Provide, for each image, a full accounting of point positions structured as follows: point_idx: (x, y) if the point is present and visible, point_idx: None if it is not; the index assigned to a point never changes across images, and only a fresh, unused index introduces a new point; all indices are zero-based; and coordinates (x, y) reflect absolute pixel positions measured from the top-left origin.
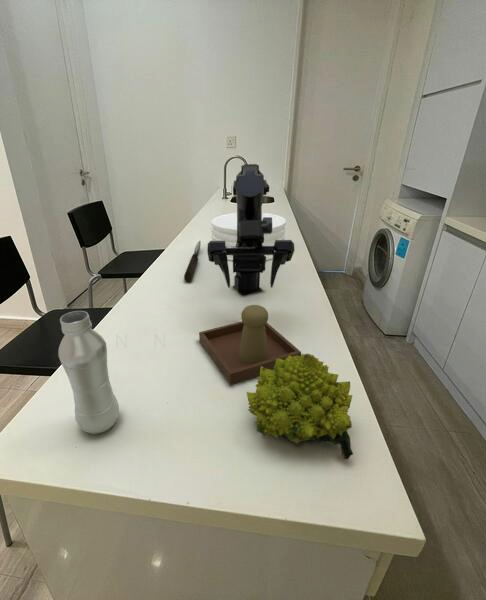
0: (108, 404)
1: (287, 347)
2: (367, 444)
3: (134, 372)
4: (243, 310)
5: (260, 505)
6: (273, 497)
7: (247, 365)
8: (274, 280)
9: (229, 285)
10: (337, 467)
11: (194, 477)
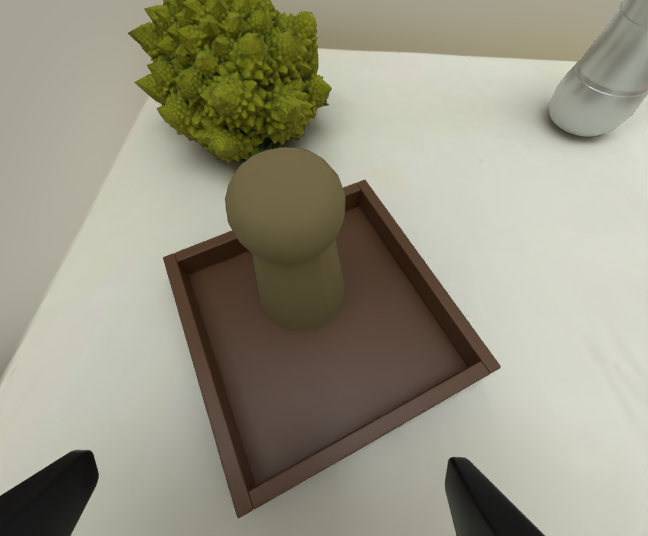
0: (581, 59)
1: (192, 300)
2: None
3: (604, 234)
4: (336, 184)
5: (320, 53)
6: None
7: None
8: (15, 487)
9: (454, 459)
10: None
11: (397, 70)
